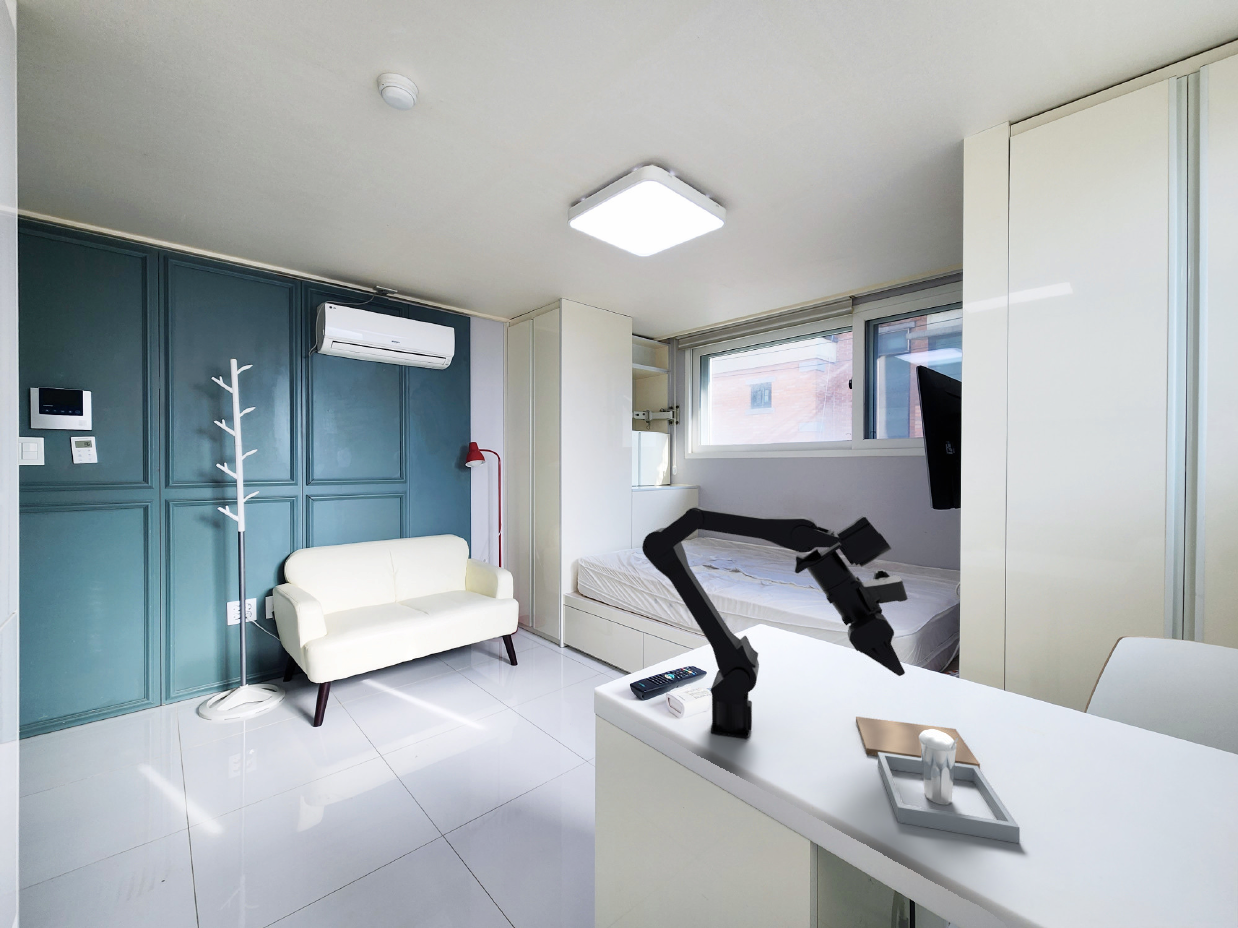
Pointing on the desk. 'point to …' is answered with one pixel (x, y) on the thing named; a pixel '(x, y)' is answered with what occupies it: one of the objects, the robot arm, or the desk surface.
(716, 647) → the robot arm
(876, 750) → the board
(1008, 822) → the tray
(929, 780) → the milkshake
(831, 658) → the desk surface
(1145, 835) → the desk surface
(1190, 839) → the desk surface
